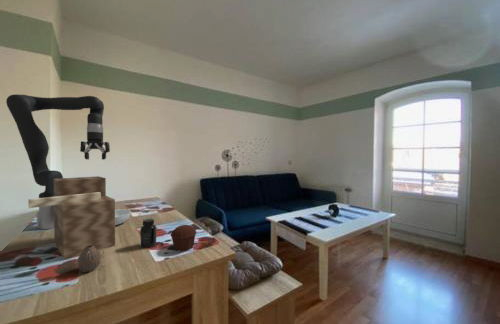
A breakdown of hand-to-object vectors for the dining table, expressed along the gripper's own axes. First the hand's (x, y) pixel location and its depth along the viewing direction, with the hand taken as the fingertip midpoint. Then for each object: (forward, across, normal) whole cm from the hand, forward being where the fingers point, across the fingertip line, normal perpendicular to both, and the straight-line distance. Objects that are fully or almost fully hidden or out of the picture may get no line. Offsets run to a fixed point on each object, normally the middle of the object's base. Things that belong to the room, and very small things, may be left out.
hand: (95, 159), depth 119 cm
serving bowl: (+40, -6, -4) cm, 41 cm away
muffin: (+40, -55, +35) cm, 77 cm away
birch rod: (+18, -6, +33) cm, 38 cm away
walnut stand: (+40, -8, +24) cm, 48 cm away
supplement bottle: (+40, -38, +30) cm, 63 cm away
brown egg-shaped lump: (+40, -23, +49) cm, 67 cm away
